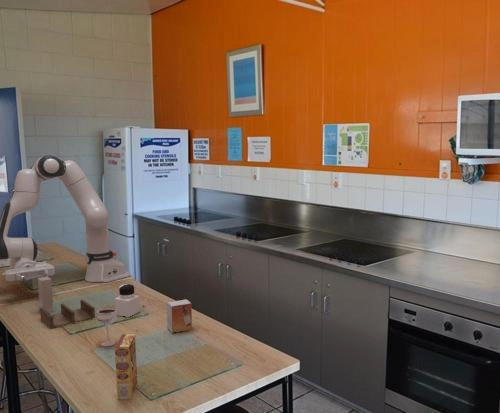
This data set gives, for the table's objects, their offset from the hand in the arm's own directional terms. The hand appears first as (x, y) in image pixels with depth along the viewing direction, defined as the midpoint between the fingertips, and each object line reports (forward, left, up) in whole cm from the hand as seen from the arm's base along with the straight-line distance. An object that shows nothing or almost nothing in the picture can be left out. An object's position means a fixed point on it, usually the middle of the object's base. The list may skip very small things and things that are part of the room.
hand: (34, 276), depth 207 cm
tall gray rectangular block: (-1, +12, -12) cm, 17 cm away
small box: (-34, +64, -12) cm, 74 cm away
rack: (-5, +27, -12) cm, 30 cm away
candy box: (+1, +94, -12) cm, 95 cm away
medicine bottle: (-26, +36, -12) cm, 46 cm away
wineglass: (-8, +59, -12) cm, 61 cm away
